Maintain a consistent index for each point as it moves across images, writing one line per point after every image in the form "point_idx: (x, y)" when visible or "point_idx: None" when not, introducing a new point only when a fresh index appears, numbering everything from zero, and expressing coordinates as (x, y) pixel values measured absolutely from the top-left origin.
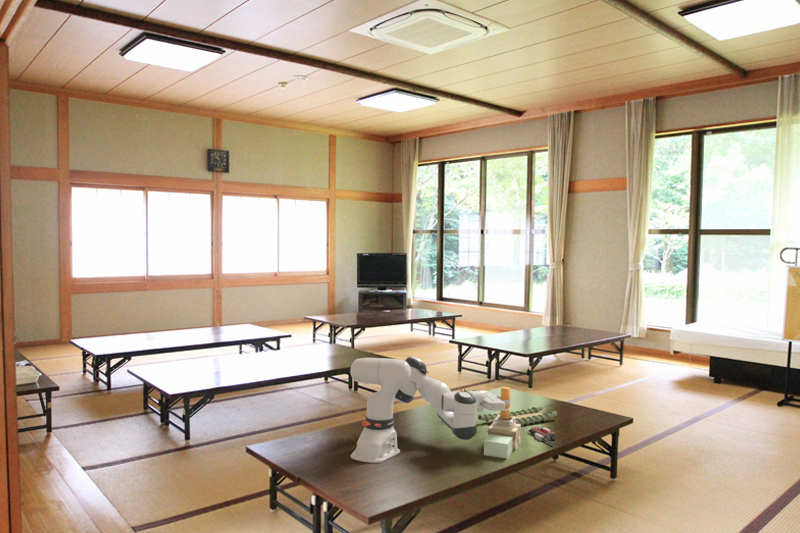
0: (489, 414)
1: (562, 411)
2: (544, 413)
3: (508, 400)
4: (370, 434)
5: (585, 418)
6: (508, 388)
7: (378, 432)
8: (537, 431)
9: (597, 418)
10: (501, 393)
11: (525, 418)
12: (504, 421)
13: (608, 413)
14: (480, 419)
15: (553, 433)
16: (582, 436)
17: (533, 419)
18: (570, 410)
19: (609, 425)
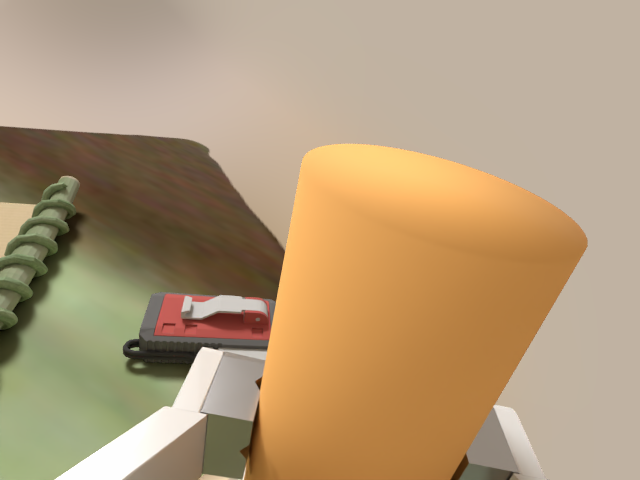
0: None
1: (25, 160)
2: (46, 202)
3: (520, 427)
4: None
5: (133, 168)
6: (459, 174)
7: None
8: (208, 340)
9: (154, 158)
10: (432, 407)
11: (10, 279)
12: None
13: (140, 135)
14: None
15: (272, 305)
16: (274, 247)
17: (36, 257)
18: (40, 149)
19: (219, 173)
